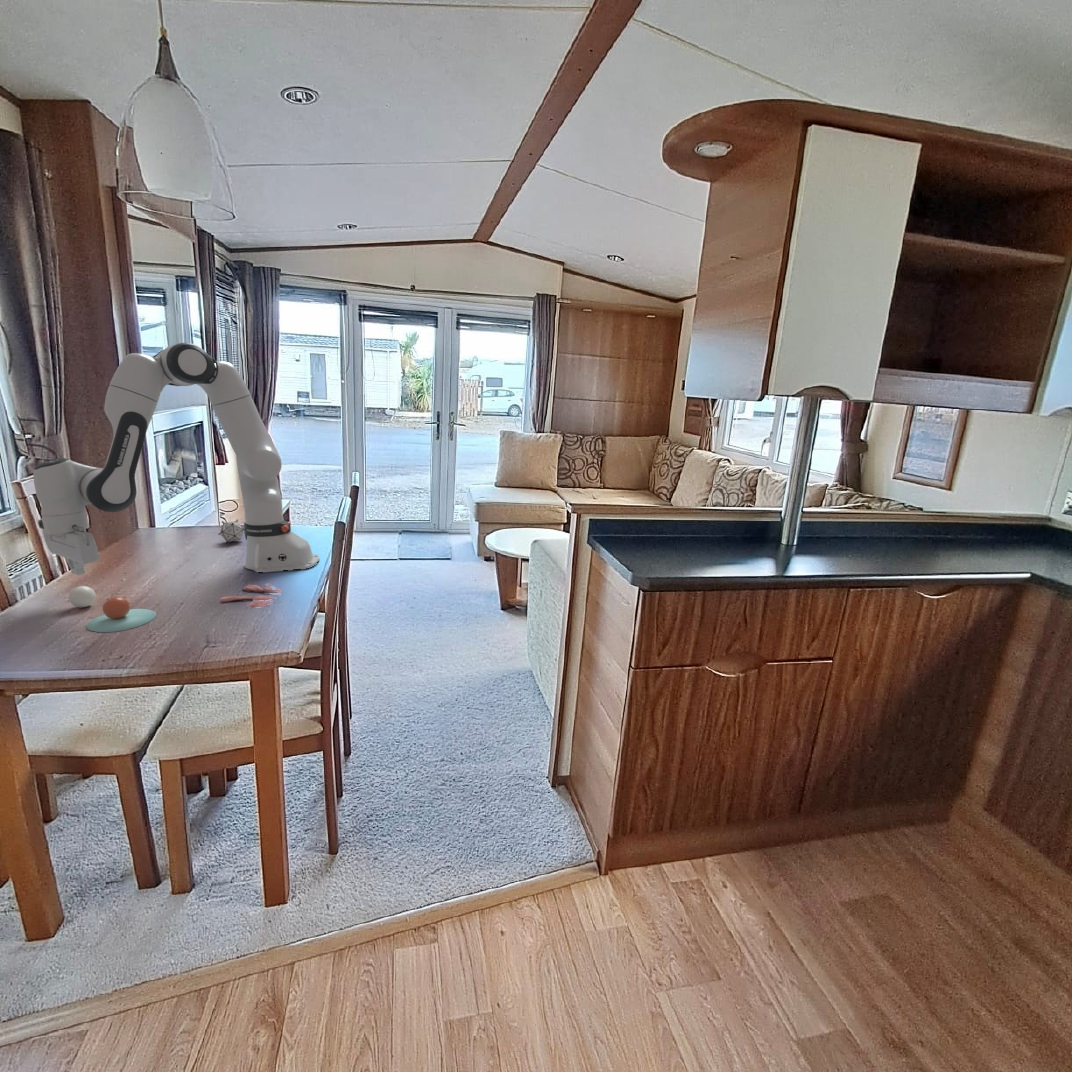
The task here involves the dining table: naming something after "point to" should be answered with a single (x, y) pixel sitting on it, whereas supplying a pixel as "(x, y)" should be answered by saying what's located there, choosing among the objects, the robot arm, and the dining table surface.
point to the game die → (231, 531)
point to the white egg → (82, 596)
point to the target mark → (121, 621)
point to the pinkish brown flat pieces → (255, 603)
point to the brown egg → (116, 607)
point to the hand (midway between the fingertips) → (78, 573)
